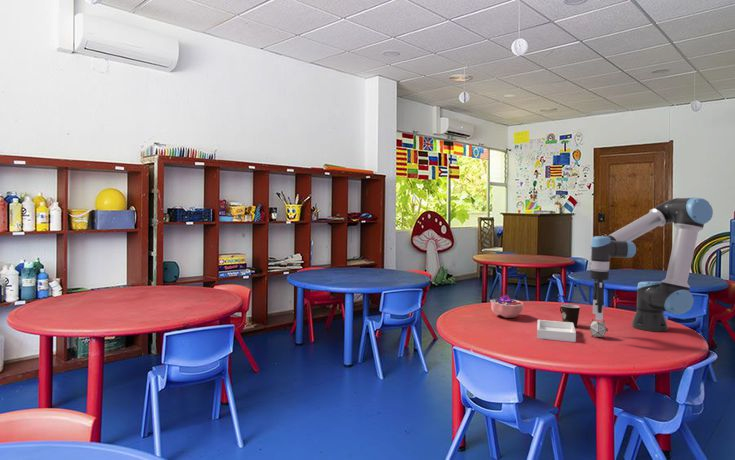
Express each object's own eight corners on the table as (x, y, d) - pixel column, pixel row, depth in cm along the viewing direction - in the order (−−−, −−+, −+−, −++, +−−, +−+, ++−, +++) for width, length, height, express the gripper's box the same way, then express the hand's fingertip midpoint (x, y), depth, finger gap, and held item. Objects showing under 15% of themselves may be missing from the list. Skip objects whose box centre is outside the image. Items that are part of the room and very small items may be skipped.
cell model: (492, 320, 254) (493, 299, 253) (488, 312, 274) (488, 292, 273) (526, 321, 252) (526, 300, 251) (519, 313, 272) (519, 293, 271)
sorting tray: (572, 330, 234) (573, 322, 233) (575, 342, 214) (575, 333, 214) (537, 327, 239) (537, 319, 239) (537, 338, 219) (537, 329, 219)
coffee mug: (581, 328, 238) (581, 308, 238) (562, 327, 240) (563, 307, 239) (576, 323, 249) (576, 303, 249) (558, 322, 251) (558, 302, 251)
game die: (600, 344, 223) (613, 327, 223) (600, 342, 216) (614, 324, 216) (582, 332, 228) (595, 315, 228) (582, 330, 220) (595, 312, 221)
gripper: (588, 267, 234) (586, 310, 235) (593, 272, 210) (590, 321, 211) (605, 268, 231) (603, 312, 232) (612, 274, 208) (610, 323, 209)
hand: (597, 316), depth 222 cm, fingers open, 13 cm apart
